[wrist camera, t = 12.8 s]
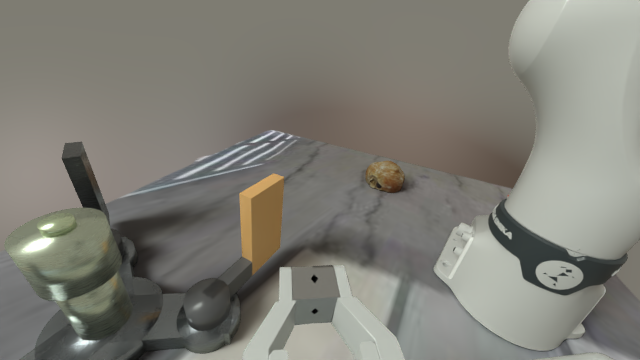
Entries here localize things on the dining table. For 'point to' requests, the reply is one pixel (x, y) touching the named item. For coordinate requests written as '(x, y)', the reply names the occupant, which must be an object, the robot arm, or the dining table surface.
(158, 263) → the dining table surface
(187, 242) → the dining table surface
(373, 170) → the bread roll
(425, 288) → the dining table surface
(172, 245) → the dining table surface
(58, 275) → the levelling base
